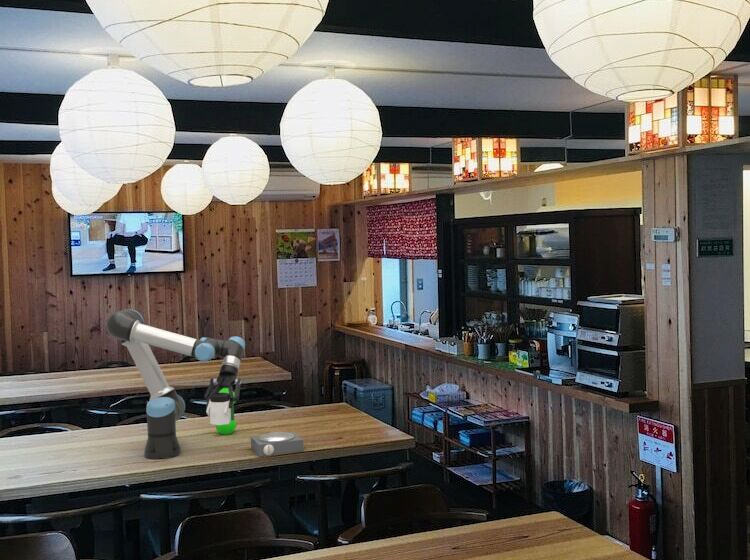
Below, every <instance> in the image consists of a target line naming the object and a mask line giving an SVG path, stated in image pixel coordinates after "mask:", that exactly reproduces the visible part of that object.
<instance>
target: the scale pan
mask: <svg viewBox="0 0 750 560" xmlns="http://www.w3.org/2000/svg"><path fill="white" fill-rule="evenodd" d="M258 436H259V440H260V441H262V442H271V443H274V442H284V441H289V440H292V439H293V438H294V434H292V433H287V432H286V431H285V432H284V431H275V432H268V433H264V434H261V435H258Z"/></svg>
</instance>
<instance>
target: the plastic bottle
mask: <svg viewBox="0 0 750 560" xmlns="http://www.w3.org/2000/svg"><path fill="white" fill-rule="evenodd" d="M219 393H229V390H228V388H222V390H220V391H219ZM234 395H235V391H233V396H234ZM236 402H237V401H234V402H233V406H232V408H231V422H230V423H229V424H224V425H215V428H216V431H217V432H218V433H220V435H223V434H224V435H232V433H233V432H234V431H236V429H237V422H236V419H235V409H234V408H235V405H234V404H235V403H236Z"/></svg>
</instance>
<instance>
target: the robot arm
mask: <svg viewBox="0 0 750 560" xmlns="http://www.w3.org/2000/svg"><path fill="white" fill-rule="evenodd" d="M106 319H107V320H106V323H105V329H106V332H107V333H108V335H109V336H111V337H112V338H114V339H116V340H119V342H120V344H121V345H122V346H125V347H126V348H127V350H128V352H129V354H130V356H131V357H132V358H131V359H132V360H133V362H134V364H135V365H136V366H135V367H136V368H137V370H138V372H139V374H140V376H141V378H142V379H143V382H144V383H145V386H146V388H147V390H148V392H149V394H150V397H149V401H147V403H146V411H145V412H146V422H147V423H146V424H147V425H146V426H147V427H146V428H147V439H146V442H145V447H144V451H143V457H144V458H146V457H147V459H150V458H152V459H151V460H160V459H159V458H163V459H168V458H167V457H170V458H173V457H172V456H174V457H177V456H179V455H181V454H182V448H181V447H182V446H181V444H180V442H179V439H178V437H177V432H176V431H177V430H176V429H177V427H176V422H177V421H178V420H180V419H181V418H182V417H183V415H184V414H185V410H186V403H185V400H184V399H183V397H182V396H181V395H179V394H177V391H176V389H175V387H173V386H170V385H169V383H168V381H167V379H166V377H165V376H164V372H163V371H162V369H161V367H160V365H159V362H158V360H157V358H156V356H155V354H154V353H153V350H152V349H151V347H150V346H153V347H155V348H160V349H165V350H167V351H171V352H175V353H179V354H183V355H185V356H189V357H193V358H195V359H197V360H198V361H201V362H207V361H210V360H212V359H213V358H214V357H217V358H223V359H222V363H221V367H220V369H219V373H218V376H217V378H212V377H211V378H210V381H209V385H208V387H207V389H206V392H205V393H204V399H205V401H206V404H205V405H206V410H205V412H206V414H207V416H208V417H210V395H211V394H213V393H219V391H220V390H222V388H228V390H229V394H230V397H229V398H230V399H229V406H228V405H227V406H226V407H225V411H224V413H225V415H226V416H228V407H229V410H230V408H232V406H233V402H234V401H236V402H238V401H239V400H240V392H241V386H242V384H243V382H242V379H241V378H237V377H238V373H239V369H240V366H241V362H242V358H243V355H244V352H245V347H246V341H245V340H244V339H243V338H242V337H239V336H237V335H236V336H231V337H229V339H228V340H223V339H219V338H212V337H201V338H200V339H197V338H193V337H190V336H186V335H182V334H180V333H176V332H171V331H168V330H165V329H161V328H157V327H154V326H151V325H147V324H145V323H144V318H143V316H142V314H141V313H139V312H138V311H137V310H134V309H130V308H126V309H122V310H119V311H116V312H113V313H112V314H110V315H109V316H108V318H106ZM234 384H235V389H234V390H235V391H234V390H233V385H234ZM215 385H216V386H215ZM233 392H234V393H235V395H234V396H233ZM180 453H181V454H180ZM176 455H177V456H176Z"/></svg>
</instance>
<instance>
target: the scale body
mask: <svg viewBox="0 0 750 560" xmlns="http://www.w3.org/2000/svg"><path fill="white" fill-rule="evenodd" d="M287 433H292V434H294V438H293V439H292V440H289V441H284V442H274V443H271V442H262V441H260V440H259V436H260V435H253V436H252V435H251V436H250V449H251V448H252V449H251V450H252V451H253V450H254V451H253V452H254V453H255V454H256V455H257V456H258V457H261V458H262V457H268V456H275V455H276V456H277V455H284V454H285V455H286V454H292V453H294V454H295V453H301V452H304V439H303V438H302V437H300V436H299V435H298V434H297V433H295V432H294V431H289V432H287Z"/></svg>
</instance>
